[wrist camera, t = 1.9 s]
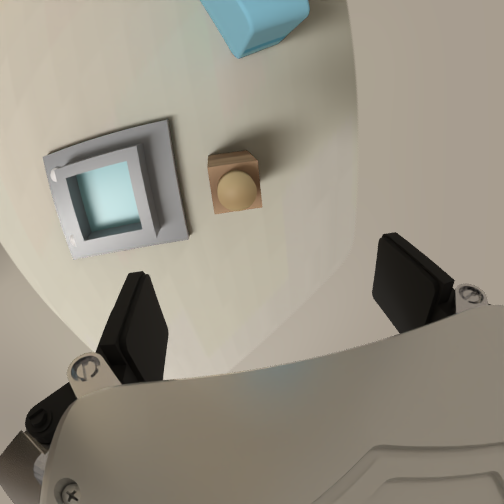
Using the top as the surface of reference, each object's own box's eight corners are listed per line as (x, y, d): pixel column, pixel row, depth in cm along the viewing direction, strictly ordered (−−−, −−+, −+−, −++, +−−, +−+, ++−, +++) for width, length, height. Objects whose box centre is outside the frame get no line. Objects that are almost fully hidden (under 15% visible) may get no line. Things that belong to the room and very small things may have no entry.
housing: (47, 155, 24) (31, 161, 21) (168, 119, 25) (162, 120, 22) (76, 255, 30) (65, 270, 27) (189, 235, 31) (187, 249, 28)
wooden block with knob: (208, 155, 28) (207, 171, 20) (247, 150, 28) (260, 163, 20) (213, 192, 30) (215, 220, 22) (251, 186, 30) (265, 213, 22)
